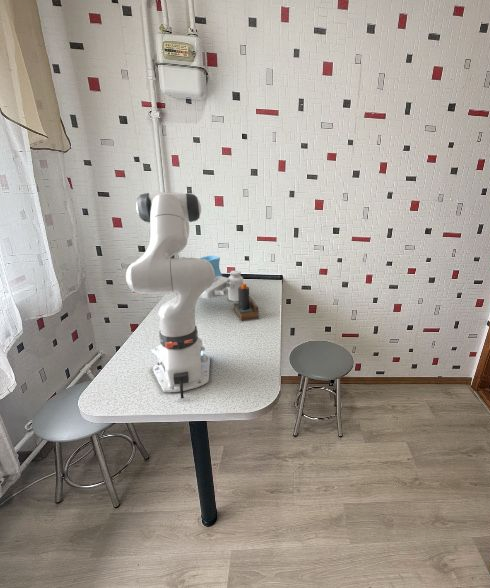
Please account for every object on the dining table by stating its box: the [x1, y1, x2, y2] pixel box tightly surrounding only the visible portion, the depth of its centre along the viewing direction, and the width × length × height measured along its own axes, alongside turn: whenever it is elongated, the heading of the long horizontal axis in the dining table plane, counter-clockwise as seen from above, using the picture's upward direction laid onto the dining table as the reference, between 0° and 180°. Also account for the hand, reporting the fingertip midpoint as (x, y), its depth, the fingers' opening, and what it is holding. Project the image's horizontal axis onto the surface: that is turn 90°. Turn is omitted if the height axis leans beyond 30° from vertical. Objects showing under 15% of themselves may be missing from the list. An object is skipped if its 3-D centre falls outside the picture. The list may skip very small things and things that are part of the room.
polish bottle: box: [238, 282, 250, 310], centre depth 156 cm, size 5×5×12 cm
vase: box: [199, 254, 223, 297], centre depth 178 cm, size 8×8×20 cm
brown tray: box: [233, 295, 259, 322], centre depth 158 cm, size 14×8×6 cm, turn 26°
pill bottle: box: [227, 270, 244, 302], centre depth 173 cm, size 8×8×15 cm
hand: (229, 289), depth 156 cm, fingers open, 8 cm apart
